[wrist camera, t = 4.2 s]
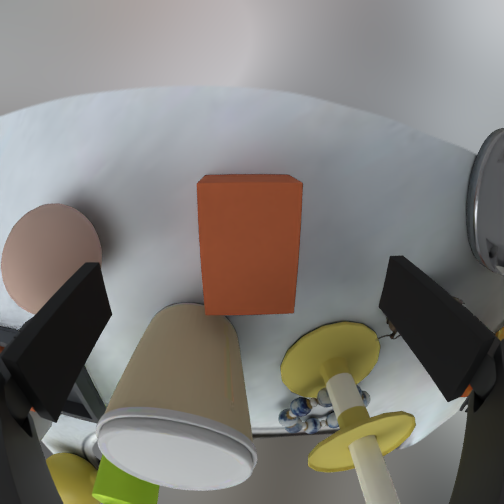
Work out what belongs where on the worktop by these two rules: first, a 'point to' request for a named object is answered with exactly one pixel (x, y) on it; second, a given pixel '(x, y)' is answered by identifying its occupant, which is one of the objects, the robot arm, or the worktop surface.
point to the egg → (46, 253)
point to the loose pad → (249, 242)
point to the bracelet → (304, 406)
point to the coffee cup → (182, 405)
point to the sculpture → (73, 478)
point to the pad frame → (73, 391)
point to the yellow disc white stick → (348, 405)
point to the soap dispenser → (122, 486)
